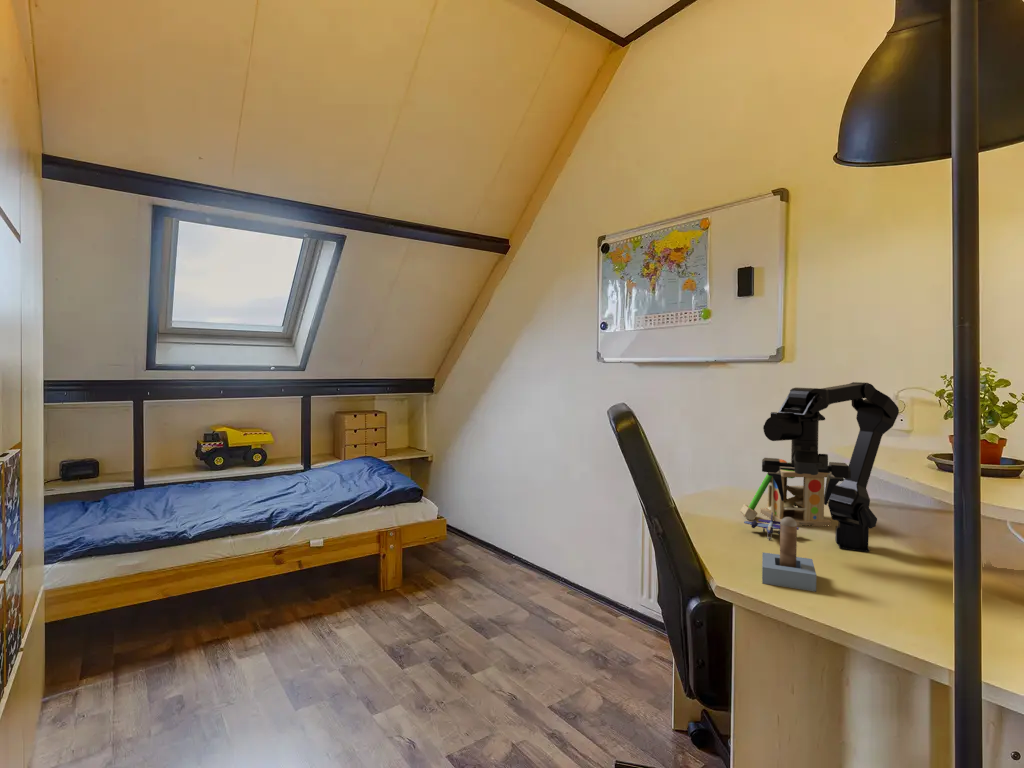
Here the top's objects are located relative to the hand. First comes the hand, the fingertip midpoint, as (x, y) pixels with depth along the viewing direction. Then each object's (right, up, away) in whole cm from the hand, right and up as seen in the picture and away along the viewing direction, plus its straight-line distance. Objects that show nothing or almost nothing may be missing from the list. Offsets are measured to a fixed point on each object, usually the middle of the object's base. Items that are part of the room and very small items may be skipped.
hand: (803, 502), depth 130 cm
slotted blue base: (-11, -14, -14) cm, 23 cm away
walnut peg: (-11, -14, -14) cm, 23 cm away
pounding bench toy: (+10, -12, +31) cm, 35 cm away
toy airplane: (-1, -13, +15) cm, 20 cm away
